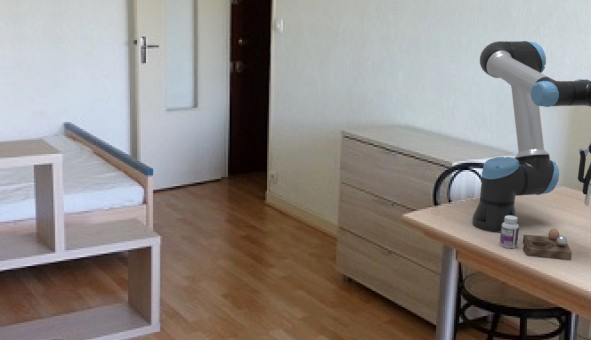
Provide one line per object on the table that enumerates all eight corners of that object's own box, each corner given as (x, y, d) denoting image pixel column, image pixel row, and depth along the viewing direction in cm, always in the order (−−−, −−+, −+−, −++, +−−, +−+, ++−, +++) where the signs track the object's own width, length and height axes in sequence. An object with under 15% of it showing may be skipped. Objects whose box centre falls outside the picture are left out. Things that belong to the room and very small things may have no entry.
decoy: (548, 240, 241) (549, 230, 240) (546, 237, 244) (548, 227, 243) (559, 241, 240) (560, 231, 240) (557, 238, 244) (559, 228, 243)
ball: (555, 247, 235) (557, 237, 234) (554, 243, 238) (555, 233, 237) (567, 248, 234) (568, 238, 234) (565, 244, 238) (566, 234, 237)
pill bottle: (508, 241, 246) (511, 213, 244) (520, 247, 242) (523, 218, 239) (496, 244, 244) (499, 215, 241) (507, 249, 239) (510, 220, 237)
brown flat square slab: (525, 255, 234) (526, 248, 233) (521, 241, 246) (521, 234, 246) (570, 260, 232) (571, 252, 231) (564, 245, 244) (565, 238, 244)
